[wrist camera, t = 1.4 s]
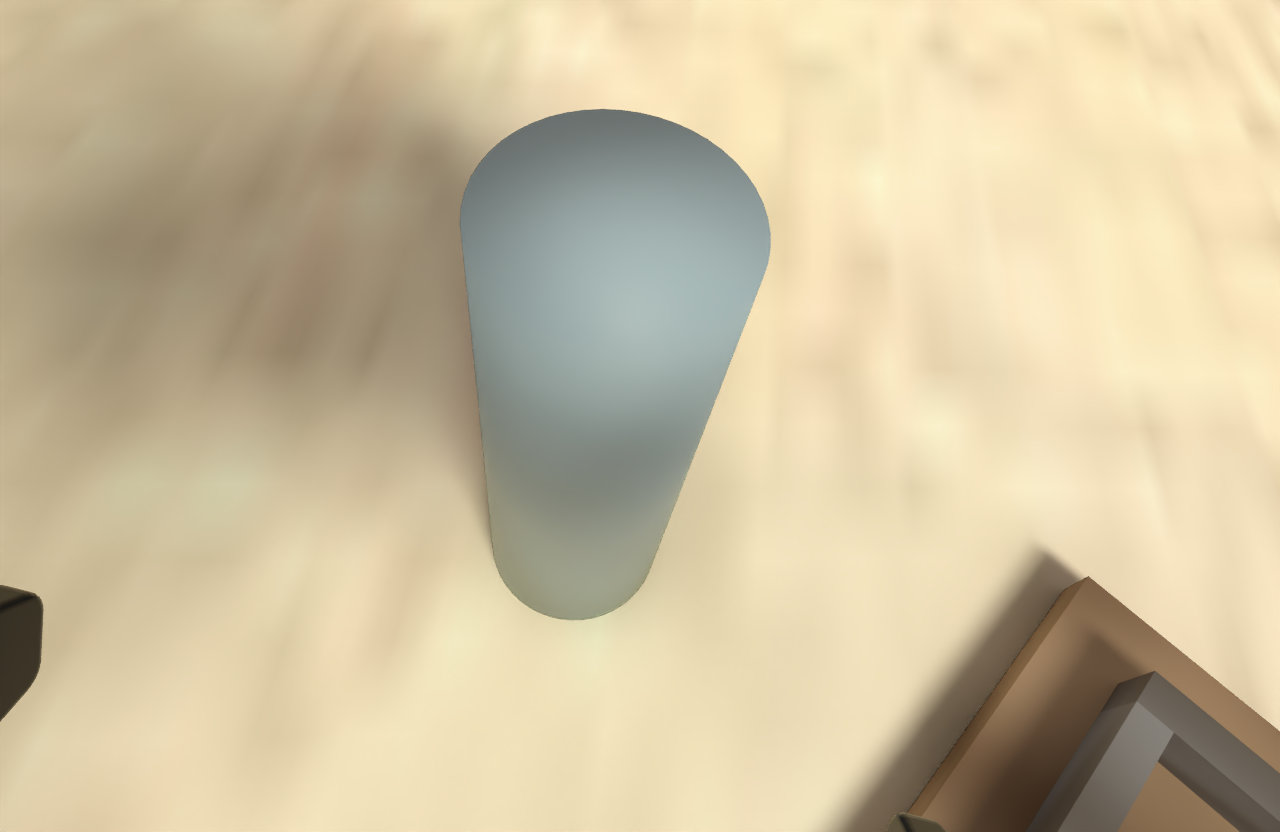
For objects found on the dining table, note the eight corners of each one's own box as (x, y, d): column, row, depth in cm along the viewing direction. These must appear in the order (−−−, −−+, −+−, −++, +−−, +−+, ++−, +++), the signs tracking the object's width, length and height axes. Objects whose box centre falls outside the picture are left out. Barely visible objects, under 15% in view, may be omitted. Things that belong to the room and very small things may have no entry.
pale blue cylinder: (509, 637, 22) (489, 376, 11) (479, 482, 24) (438, 123, 13) (672, 600, 23) (813, 325, 12) (632, 454, 25) (720, 97, 14)
